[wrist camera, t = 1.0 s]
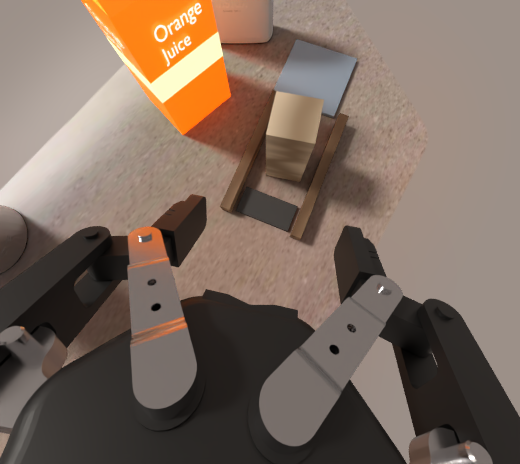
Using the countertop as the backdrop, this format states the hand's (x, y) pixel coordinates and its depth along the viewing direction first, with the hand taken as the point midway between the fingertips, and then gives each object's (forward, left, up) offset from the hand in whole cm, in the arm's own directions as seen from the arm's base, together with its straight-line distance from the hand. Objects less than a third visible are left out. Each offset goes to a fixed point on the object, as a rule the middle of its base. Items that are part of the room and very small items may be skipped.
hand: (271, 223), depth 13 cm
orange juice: (-18, +15, -15) cm, 28 cm away
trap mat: (-2, +4, -15) cm, 15 cm away
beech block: (-2, +11, -15) cm, 19 cm away
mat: (-3, +24, -15) cm, 28 cm away
